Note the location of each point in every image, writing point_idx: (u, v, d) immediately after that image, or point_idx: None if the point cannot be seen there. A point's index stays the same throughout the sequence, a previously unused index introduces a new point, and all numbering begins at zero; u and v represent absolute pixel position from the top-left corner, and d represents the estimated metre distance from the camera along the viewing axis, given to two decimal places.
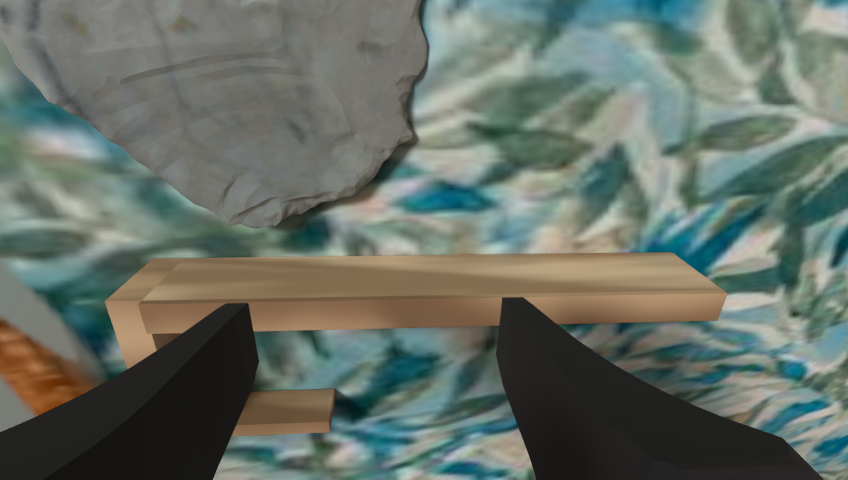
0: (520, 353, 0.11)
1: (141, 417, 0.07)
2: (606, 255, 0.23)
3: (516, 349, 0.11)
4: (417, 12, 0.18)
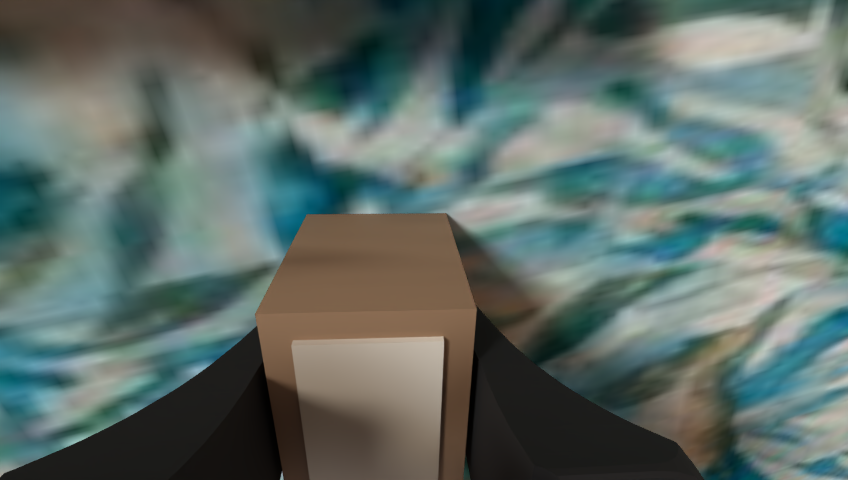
0: None
1: (235, 414, 0.07)
2: None
3: None
4: None
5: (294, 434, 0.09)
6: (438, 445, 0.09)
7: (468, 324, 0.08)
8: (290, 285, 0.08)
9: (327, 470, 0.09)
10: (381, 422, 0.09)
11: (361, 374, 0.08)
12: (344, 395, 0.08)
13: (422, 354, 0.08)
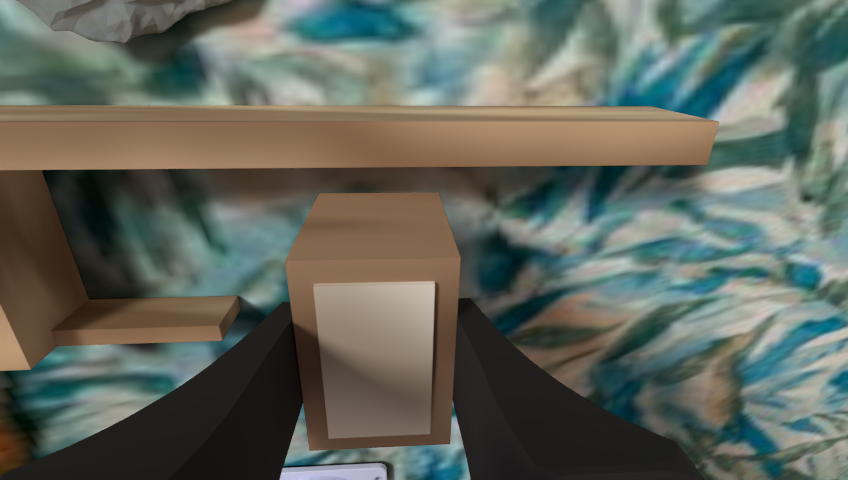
0: (459, 355, 0.10)
1: (235, 413, 0.07)
2: (566, 107, 0.18)
3: (457, 351, 0.11)
4: None
5: (313, 365, 0.11)
6: (431, 375, 0.11)
7: (454, 271, 0.10)
8: (310, 242, 0.10)
9: (340, 396, 0.11)
10: (384, 354, 0.11)
11: (369, 312, 0.10)
12: (354, 330, 0.10)
13: (417, 295, 0.10)
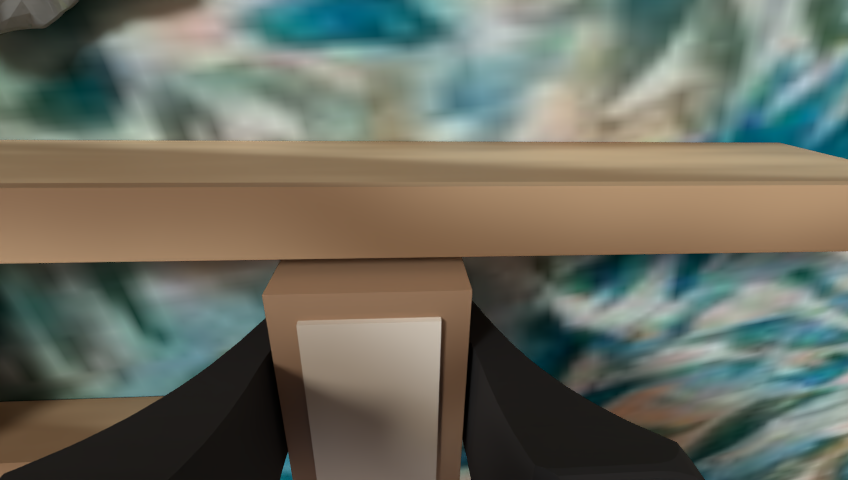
0: None
1: (235, 413, 0.07)
2: (660, 144, 0.12)
3: None
4: None
5: (299, 412, 0.09)
6: (436, 423, 0.09)
7: (464, 305, 0.08)
8: (295, 269, 0.09)
9: (330, 447, 0.10)
10: (382, 400, 0.09)
11: (363, 354, 0.09)
12: (346, 374, 0.09)
13: (420, 334, 0.08)
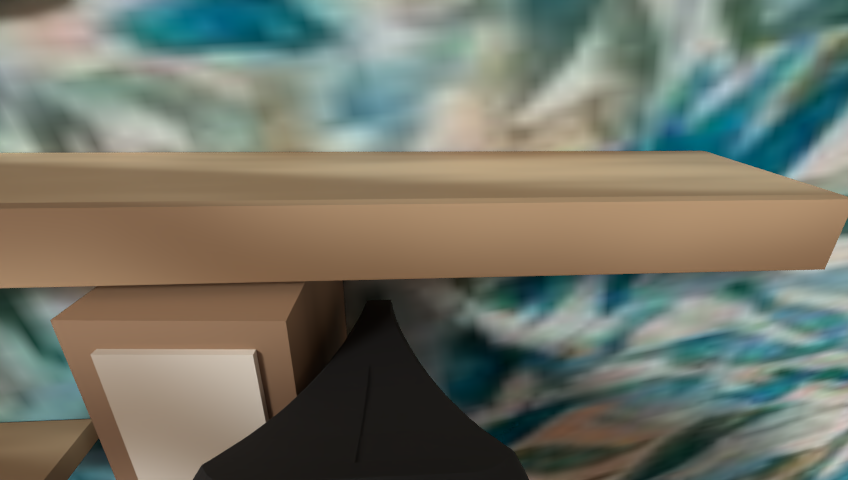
0: None
1: None
2: (574, 153, 0.12)
3: None
4: None
5: (120, 446, 0.08)
6: None
7: (280, 337, 0.07)
8: (112, 290, 0.08)
9: None
10: (205, 438, 0.08)
11: (172, 387, 0.08)
12: (159, 408, 0.08)
13: (232, 368, 0.07)
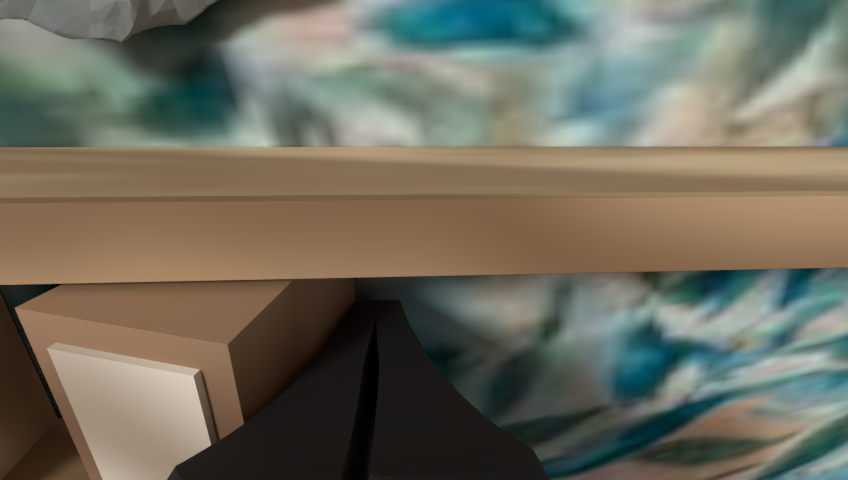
0: (377, 357, 0.10)
1: (358, 409, 0.07)
2: (790, 148, 0.12)
3: (376, 353, 0.11)
4: None
5: None
6: None
7: (223, 361, 0.07)
8: None
9: None
10: (156, 451, 0.08)
11: (121, 394, 0.07)
12: (112, 413, 0.07)
13: (175, 385, 0.07)
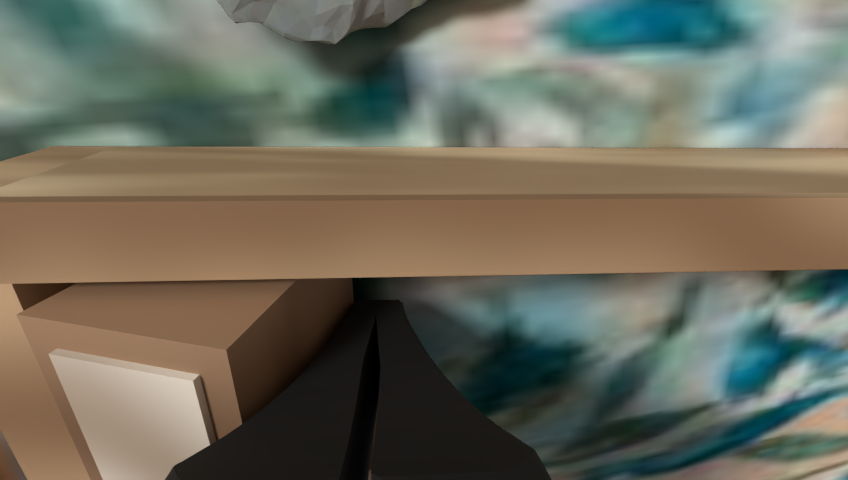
0: (378, 357, 0.10)
1: (356, 409, 0.07)
2: None
3: (377, 353, 0.11)
4: None
5: None
6: None
7: (222, 366, 0.07)
8: (88, 288, 0.08)
9: None
10: (157, 455, 0.08)
11: (122, 399, 0.07)
12: (113, 417, 0.08)
13: (175, 391, 0.07)
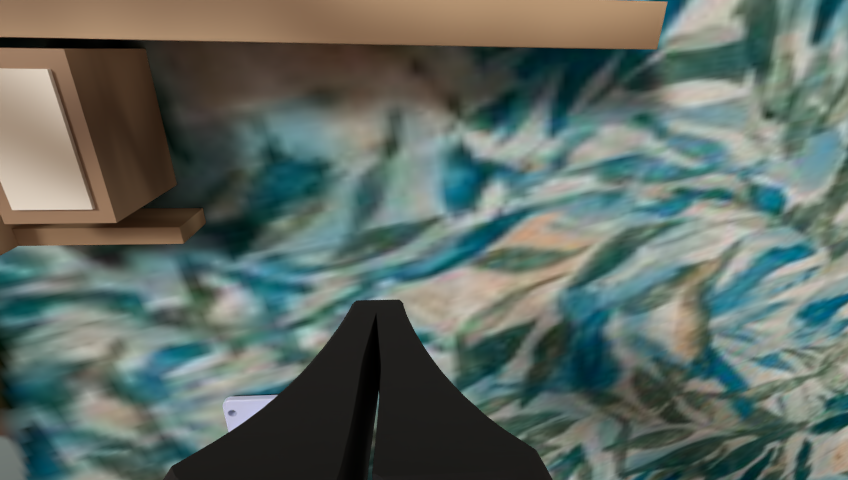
0: (378, 357, 0.10)
1: (355, 409, 0.07)
2: None
3: (378, 353, 0.11)
4: None
5: None
6: (73, 153, 0.15)
7: (63, 60, 0.14)
8: None
9: (7, 170, 0.15)
10: (29, 131, 0.14)
11: (4, 92, 0.14)
12: None
13: (37, 78, 0.14)
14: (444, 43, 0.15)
